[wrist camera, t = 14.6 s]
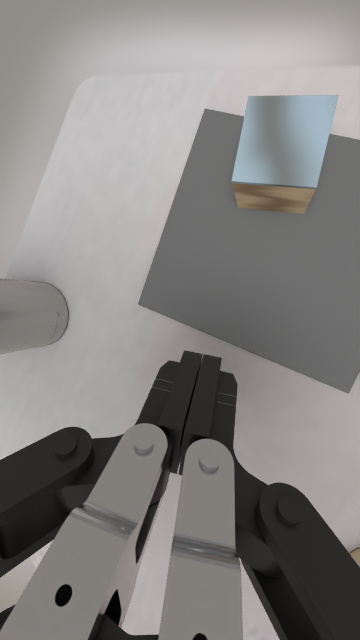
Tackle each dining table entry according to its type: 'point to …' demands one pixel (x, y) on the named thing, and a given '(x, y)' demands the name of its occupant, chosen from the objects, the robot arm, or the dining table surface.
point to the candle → (356, 556)
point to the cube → (282, 151)
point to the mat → (265, 260)
